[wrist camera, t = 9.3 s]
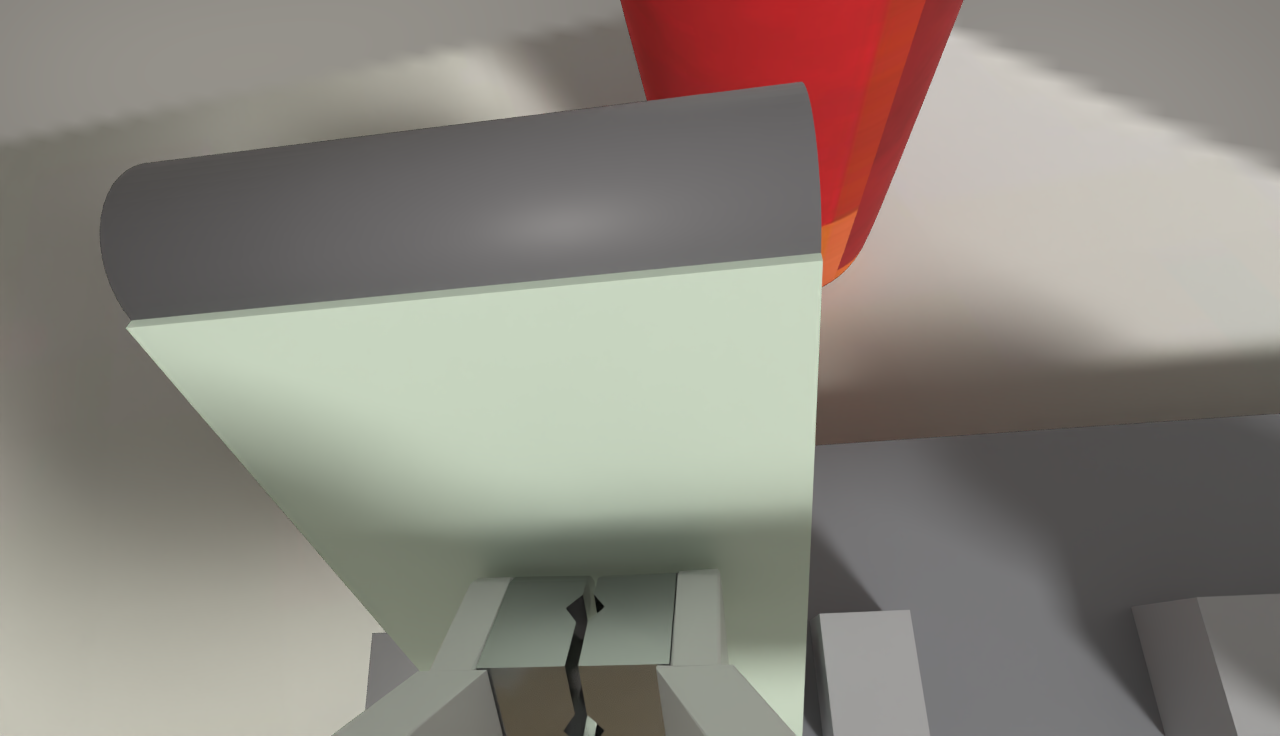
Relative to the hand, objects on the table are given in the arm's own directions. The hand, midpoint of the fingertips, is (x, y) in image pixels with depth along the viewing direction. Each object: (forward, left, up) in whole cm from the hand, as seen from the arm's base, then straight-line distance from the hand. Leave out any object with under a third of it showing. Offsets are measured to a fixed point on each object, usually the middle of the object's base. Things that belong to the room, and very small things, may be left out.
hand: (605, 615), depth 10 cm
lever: (0, -1, -6) cm, 6 cm away
